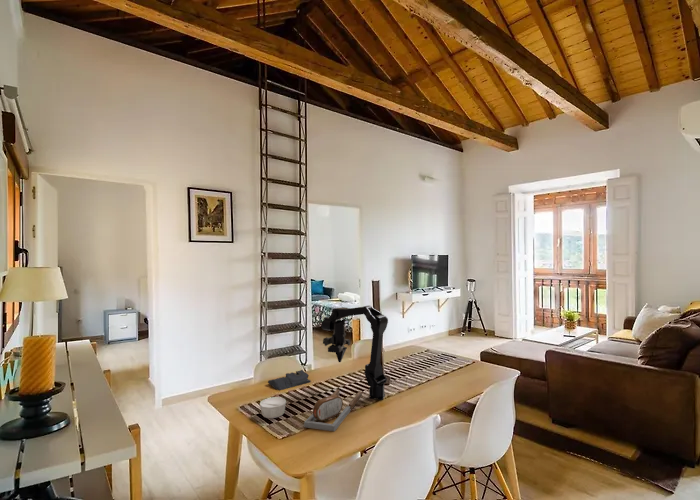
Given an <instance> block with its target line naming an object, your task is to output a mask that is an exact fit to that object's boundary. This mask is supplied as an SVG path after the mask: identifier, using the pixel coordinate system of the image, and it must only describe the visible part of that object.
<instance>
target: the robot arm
mask: <svg viewBox="0 0 700 500" xmlns="http://www.w3.org/2000/svg"><path fill="white" fill-rule="evenodd" d="M331 310H332V311H331V314H330V315H329V317H328V316H325V317H323V320H322V321H321V324H320V326H321V329H322V331H331V332H333V334H332V336H330V337H327V336H326V337H324V338H323V340H322V344H324V346H325V347H326V346H328V345H329V346H328V347H327V352H328V353H335V355H336V357H337V362H338V363H341V362H342V360H343V358H344V355H345V353H346V351H347V350H348V349H347V348H348V347H346V346H344V345H347V346H350V345H351V340H350V339H349V338H346V336H347V333H346V329H345V325H347V324H349V322H348V320H346V319H345V318H347V317H351V316H360V315H364V316H365V318H366V320H367V321H368V322H369V323H370V329H371V332H372V340H371V350H370V356H369V357H370V359H369V363H367V364H365V366H364V372H363V373H364V377H365V378H366V381H367V385H368V386H369V387H368V388H369V389H368V390H369V391H368V392H369V393H368V395H369V399H371V400H380V401H382V400H384V398H385V397H386V394H385V383H387V380H388V379H387V377H386V376H385V374H384V372H383V366H382V364H381V357H382V349H383V348H382V347H383V339H384V334H385V332H386V329H387V327H388V325H389V324H388V323H389V319H388V317H387V315H385V314H383V313H382V312H380V311H379V310H377V309H375V308H374V307H373V306H372V305H365V306H360V307H359V306H358V307H352V308H351V307H349V308H348V307H345V306H344V307H343V306H342V307H335V308H333V309H331Z"/></svg>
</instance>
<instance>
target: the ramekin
mask: <svg viewBox="0 0 700 500" xmlns="http://www.w3.org/2000/svg"><path fill="white" fill-rule="evenodd" d="M286 405H287V401H286V399H285V398H284V397H280V396H279V397H278V396H277V397H275V396H272V397H268V398H265V399H263V400H261V401H260V403H259V408H260V411H261V415H262V416H263V418H265V419H277V418H279V417H282V416H283V415H284V413H285V410H286Z"/></svg>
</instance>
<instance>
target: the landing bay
mask: <svg viewBox="0 0 700 500" xmlns="http://www.w3.org/2000/svg"><path fill="white" fill-rule="evenodd" d="M349 413H351V409H350V406H349V405H347V406H346V407H345V408H344V409H343V410H342V411H341V412H340V413H339V414H338V415H339V416H338V417H337V418H336V419H335V420H334V421H333V423H328V422H327V423H326V422H321V421H318V422H317V421H316V420H317V419H316V418H314V416H313V413H311V414H310V415H309V417H307V419H306V420H305V421H304V422H303V427H304V428H309V429H315V430H321V431H330V432H336V430H337V429H338V428H339V426H340V425H341V424H342V422H343V421H344V420H345V419H346V418H347V416H348V415H349Z"/></svg>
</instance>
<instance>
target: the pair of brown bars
mask: <svg viewBox="0 0 700 500" xmlns="http://www.w3.org/2000/svg"><path fill="white" fill-rule="evenodd" d="M340 391H341V390H340V389H335V390H334V392H333V393H332V394H331V395H330V396H332V395H337V396H339V395H340V394H341V393H340ZM362 397H363V392H362V391H358V392H357V393H356V395H355V396H354V397H353V398H352V399H351V401H350V402H349V403H348V406H350V410H352V409H353V408H355V406H356V405H357V403H358V402H359V401H360V400H361V398H362ZM355 404H356V405H355Z"/></svg>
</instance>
